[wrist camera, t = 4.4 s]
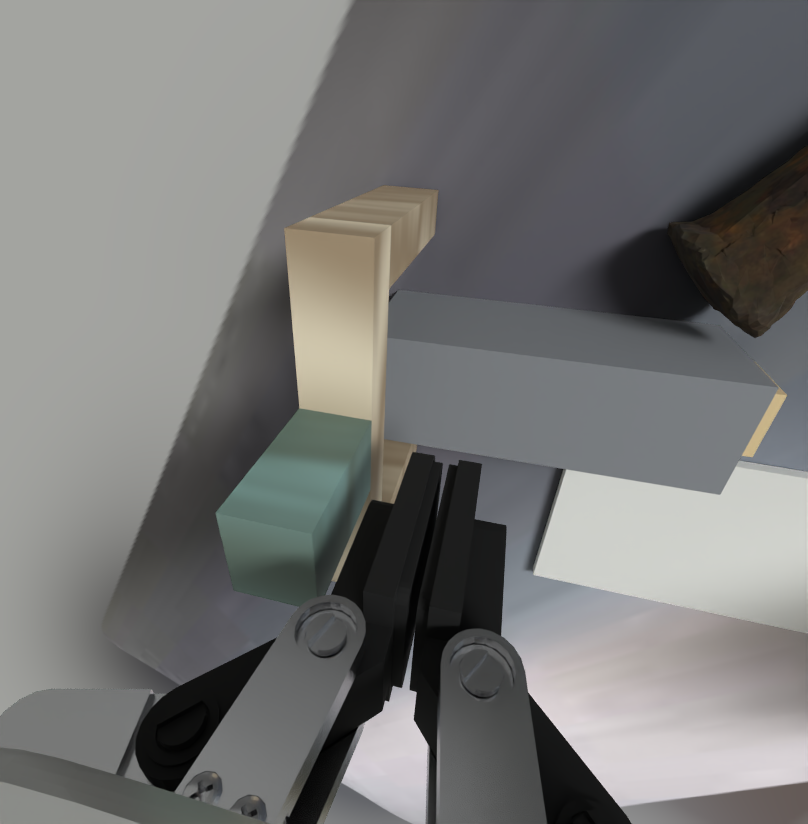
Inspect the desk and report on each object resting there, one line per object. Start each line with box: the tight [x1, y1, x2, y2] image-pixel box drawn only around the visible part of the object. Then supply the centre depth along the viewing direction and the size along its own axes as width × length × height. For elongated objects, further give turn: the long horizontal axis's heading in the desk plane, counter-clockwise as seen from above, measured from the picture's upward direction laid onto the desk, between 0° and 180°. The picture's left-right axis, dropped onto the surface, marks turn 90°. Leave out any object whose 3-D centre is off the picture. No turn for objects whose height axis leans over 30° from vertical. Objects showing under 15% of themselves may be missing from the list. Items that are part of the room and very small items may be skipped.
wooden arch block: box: [216, 185, 438, 607], centre depth 15 cm, size 12×2×12 cm, turn 177°
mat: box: [533, 461, 808, 634], centre depth 21 cm, size 9×16×1 cm, turn 87°
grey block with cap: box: [384, 290, 787, 495], centre depth 17 cm, size 4×13×5 cm, turn 88°
